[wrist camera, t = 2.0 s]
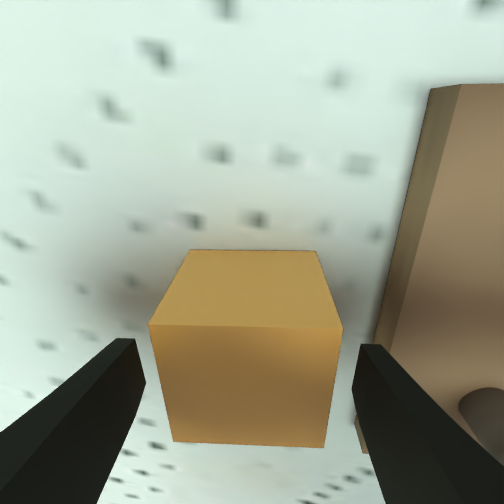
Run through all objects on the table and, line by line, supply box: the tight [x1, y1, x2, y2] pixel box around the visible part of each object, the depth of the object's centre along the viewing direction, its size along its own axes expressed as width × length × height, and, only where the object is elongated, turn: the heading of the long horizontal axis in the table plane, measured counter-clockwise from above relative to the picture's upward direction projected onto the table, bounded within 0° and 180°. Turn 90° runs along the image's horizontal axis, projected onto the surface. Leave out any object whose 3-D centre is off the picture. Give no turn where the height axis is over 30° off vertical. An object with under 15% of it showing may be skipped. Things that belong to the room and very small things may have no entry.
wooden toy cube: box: [148, 250, 343, 448], centre depth 10 cm, size 5×5×4 cm
